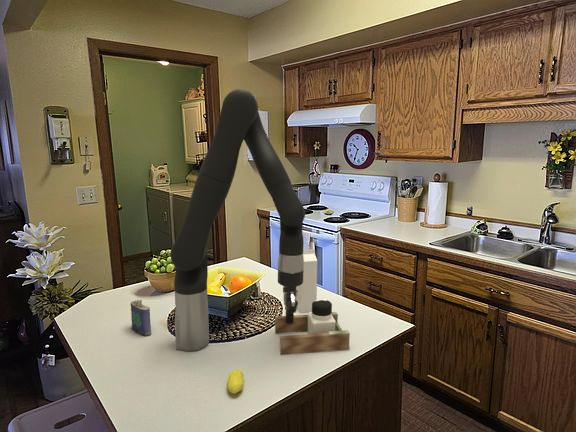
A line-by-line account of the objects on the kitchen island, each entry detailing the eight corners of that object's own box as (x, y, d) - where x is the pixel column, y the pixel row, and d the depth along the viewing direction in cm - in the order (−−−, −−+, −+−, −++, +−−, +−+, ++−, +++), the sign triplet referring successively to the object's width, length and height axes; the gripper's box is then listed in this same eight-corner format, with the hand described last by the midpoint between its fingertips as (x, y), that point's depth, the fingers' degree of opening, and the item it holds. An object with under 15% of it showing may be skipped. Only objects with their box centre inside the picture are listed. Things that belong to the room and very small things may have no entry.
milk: (316, 311, 138) (318, 251, 134) (300, 313, 136) (301, 253, 132) (310, 304, 144) (312, 247, 139) (295, 306, 142) (296, 248, 138)
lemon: (246, 378, 99) (246, 364, 98) (241, 399, 91) (241, 384, 91) (230, 378, 99) (229, 364, 99) (224, 398, 92) (223, 383, 91)
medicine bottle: (335, 343, 116) (336, 305, 114) (312, 345, 115) (313, 307, 113) (329, 331, 123) (330, 296, 121) (307, 333, 122) (307, 297, 120)
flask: (153, 334, 121) (150, 302, 119) (144, 338, 119) (142, 305, 117) (137, 325, 127) (135, 294, 125) (129, 328, 125) (126, 297, 123)
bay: (280, 355, 110) (280, 337, 109) (275, 331, 123) (275, 315, 122) (349, 349, 113) (349, 332, 112) (335, 327, 126) (336, 311, 125)
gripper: (275, 260, 119) (274, 313, 122) (280, 275, 106) (279, 334, 110) (299, 260, 120) (297, 312, 123) (307, 274, 107) (305, 332, 111)
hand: (289, 322), depth 116 cm, fingers closed
